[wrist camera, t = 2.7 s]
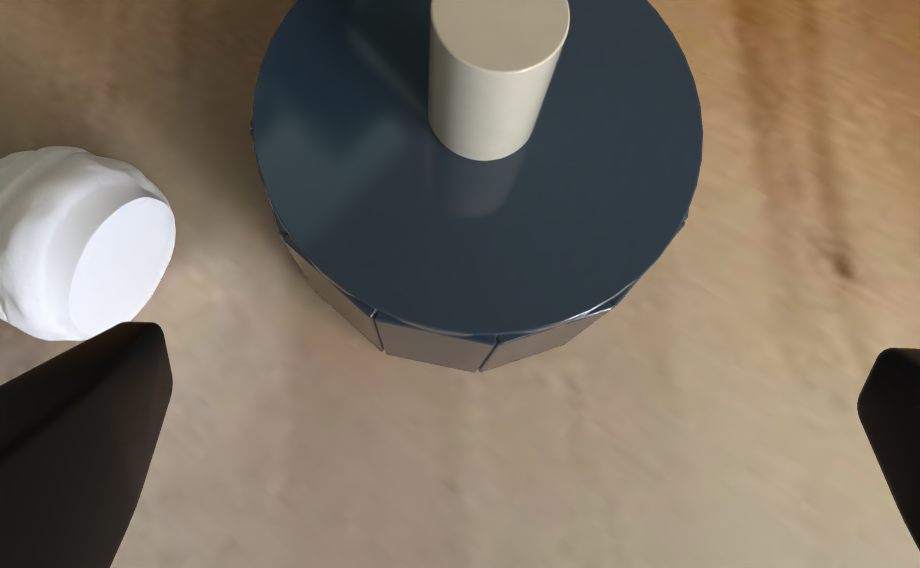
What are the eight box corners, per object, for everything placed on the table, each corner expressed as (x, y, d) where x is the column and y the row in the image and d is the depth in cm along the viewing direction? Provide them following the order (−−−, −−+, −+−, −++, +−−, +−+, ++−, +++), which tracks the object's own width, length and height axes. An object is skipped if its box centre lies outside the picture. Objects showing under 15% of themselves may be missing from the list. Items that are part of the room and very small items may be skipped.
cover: (482, 443, 21) (538, 433, 11) (222, 208, 22) (70, 16, 13) (696, 191, 24) (893, 4, 14) (451, -5, 25) (473, -301, 15)
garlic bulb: (42, 148, 22) (-72, 55, 17) (203, 217, 22) (136, 143, 17) (-52, 292, 21) (-209, 239, 16) (118, 367, 21) (16, 338, 16)
